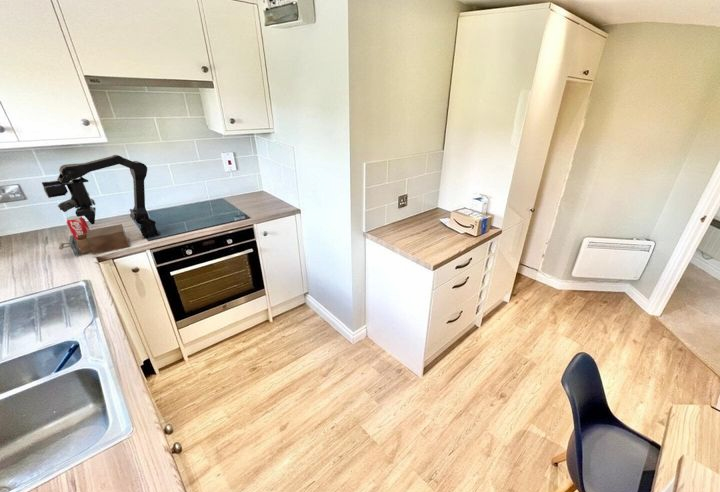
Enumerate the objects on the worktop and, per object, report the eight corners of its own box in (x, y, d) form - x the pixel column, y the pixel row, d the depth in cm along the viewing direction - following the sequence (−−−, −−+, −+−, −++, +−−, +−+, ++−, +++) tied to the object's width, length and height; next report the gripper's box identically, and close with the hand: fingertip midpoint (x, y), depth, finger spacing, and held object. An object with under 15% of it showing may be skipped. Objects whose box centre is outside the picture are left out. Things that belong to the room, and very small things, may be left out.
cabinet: (93, 254, 155) (86, 238, 151) (94, 245, 163) (87, 230, 159) (129, 246, 163) (122, 231, 159) (127, 238, 171) (121, 224, 167)
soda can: (96, 236, 172) (86, 215, 166) (81, 242, 166) (71, 220, 160) (86, 235, 173) (76, 214, 168) (71, 240, 167) (61, 219, 162)
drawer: (62, 258, 149) (55, 245, 146) (64, 250, 156) (57, 237, 153) (109, 248, 158) (103, 236, 155) (108, 241, 165) (103, 229, 162)
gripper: (56, 190, 150) (71, 221, 157) (52, 201, 137) (69, 234, 144) (88, 187, 156) (101, 216, 163) (87, 196, 143) (101, 228, 150)
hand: (93, 224), depth 155 cm, fingers closed
